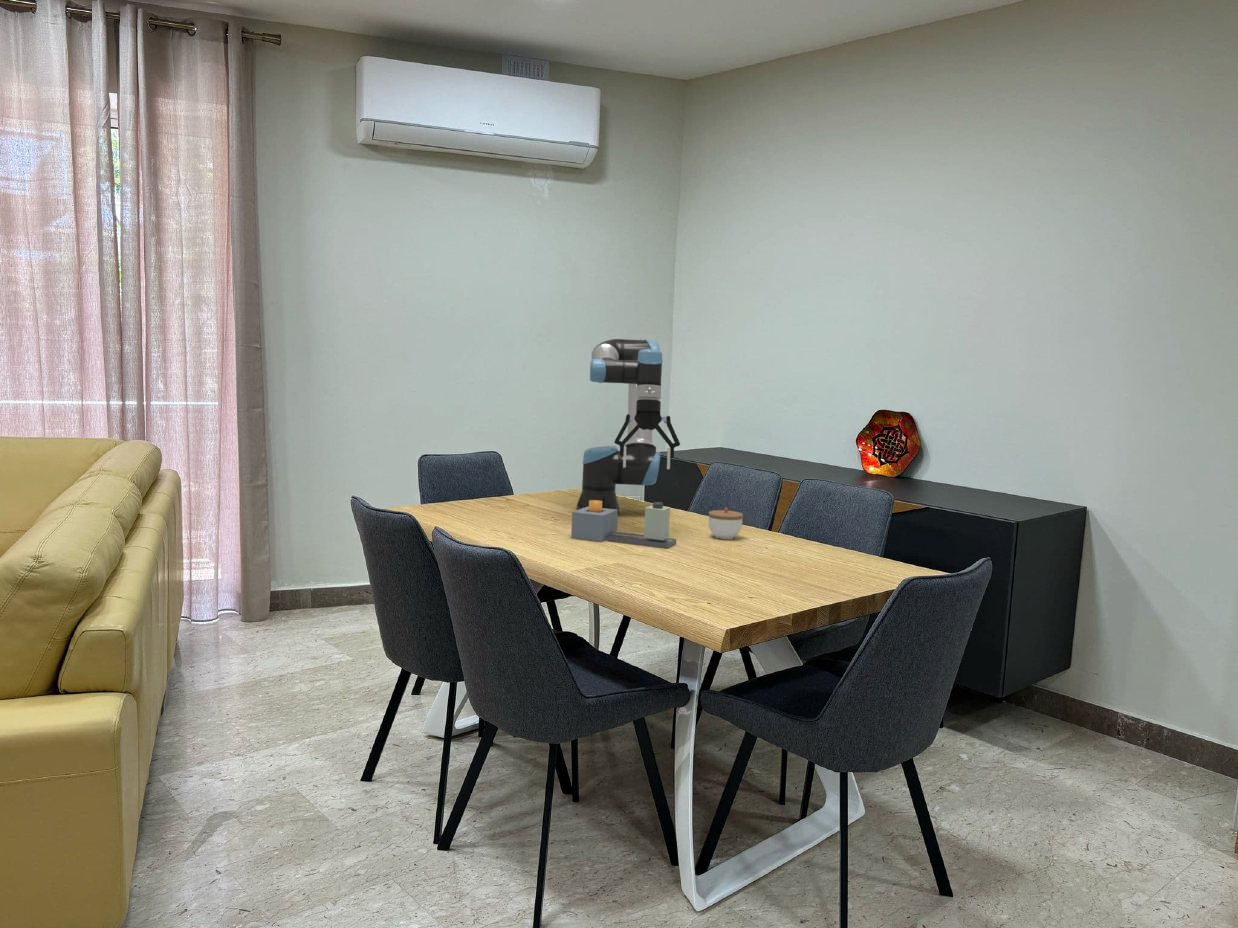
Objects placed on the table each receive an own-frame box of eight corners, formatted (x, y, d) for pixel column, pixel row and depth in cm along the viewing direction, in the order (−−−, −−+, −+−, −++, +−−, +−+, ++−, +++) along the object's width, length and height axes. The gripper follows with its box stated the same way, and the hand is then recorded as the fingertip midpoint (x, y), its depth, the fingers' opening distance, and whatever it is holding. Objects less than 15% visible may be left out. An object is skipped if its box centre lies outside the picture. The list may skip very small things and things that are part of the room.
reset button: (586, 520, 285) (587, 501, 284) (591, 518, 289) (592, 499, 288) (598, 522, 283) (599, 502, 283) (603, 520, 287) (604, 500, 286)
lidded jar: (743, 541, 289) (745, 511, 288) (708, 540, 289) (710, 510, 288) (739, 535, 300) (741, 506, 298) (706, 533, 300) (707, 504, 299)
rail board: (607, 541, 281) (607, 535, 281) (617, 536, 288) (617, 531, 288) (667, 548, 274) (667, 543, 274) (676, 543, 281) (676, 538, 281)
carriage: (643, 537, 278) (645, 502, 277) (649, 535, 283) (651, 500, 281) (663, 540, 276) (664, 504, 274) (668, 537, 280) (670, 502, 279)
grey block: (571, 538, 283) (572, 511, 282) (587, 531, 294) (588, 506, 293) (601, 541, 279) (602, 515, 278) (616, 535, 290) (617, 509, 289)
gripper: (608, 397, 287) (606, 466, 286) (689, 400, 287) (687, 469, 287) (608, 399, 294) (605, 467, 294) (687, 402, 295) (685, 470, 294)
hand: (646, 468), depth 290 cm, fingers open, 13 cm apart
